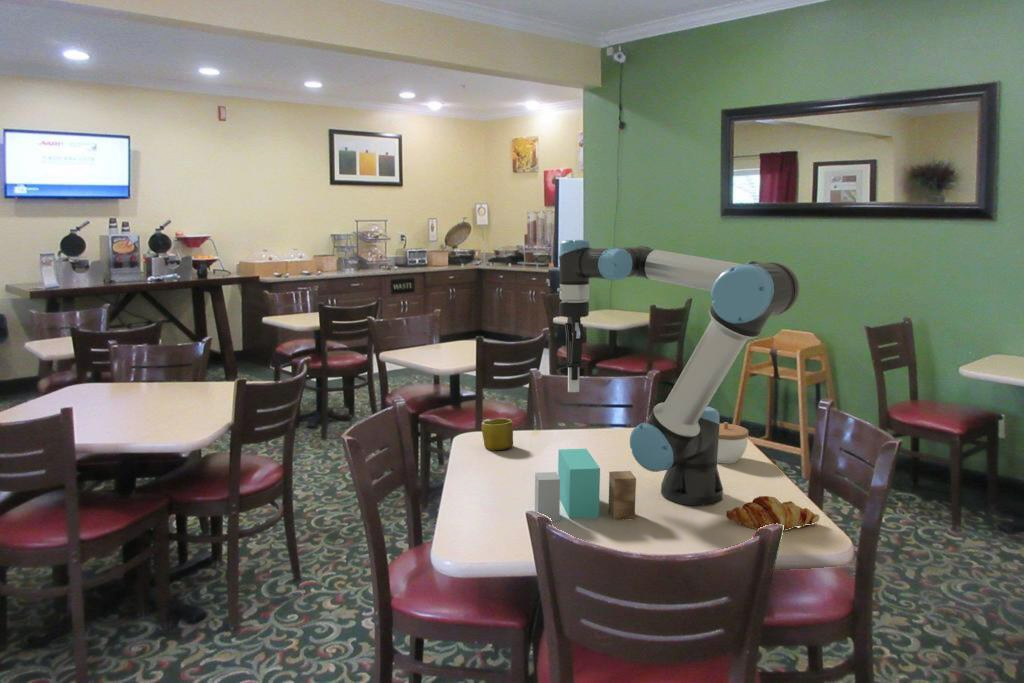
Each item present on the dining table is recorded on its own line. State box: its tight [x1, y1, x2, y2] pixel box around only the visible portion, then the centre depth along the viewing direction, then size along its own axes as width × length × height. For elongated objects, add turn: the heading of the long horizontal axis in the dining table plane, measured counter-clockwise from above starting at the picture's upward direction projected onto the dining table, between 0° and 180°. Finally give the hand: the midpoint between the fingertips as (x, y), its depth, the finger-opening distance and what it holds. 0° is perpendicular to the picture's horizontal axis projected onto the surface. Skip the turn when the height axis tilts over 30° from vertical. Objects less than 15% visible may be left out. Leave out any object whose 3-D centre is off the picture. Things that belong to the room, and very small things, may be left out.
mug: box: [481, 418, 514, 452], centre depth 232 cm, size 12×10×10 cm
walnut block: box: [607, 470, 637, 521], centre depth 180 cm, size 5×5×10 cm
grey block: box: [534, 471, 561, 522], centre depth 178 cm, size 5×5×10 cm
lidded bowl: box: [717, 421, 750, 465], centre depth 220 cm, size 13×13×11 cm
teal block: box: [557, 448, 601, 520], centre depth 185 cm, size 7×15×12 cm, turn 7°
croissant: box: [725, 495, 820, 531], centre depth 176 cm, size 21×10×8 cm, turn 91°
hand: (573, 391), depth 200 cm, fingers closed
